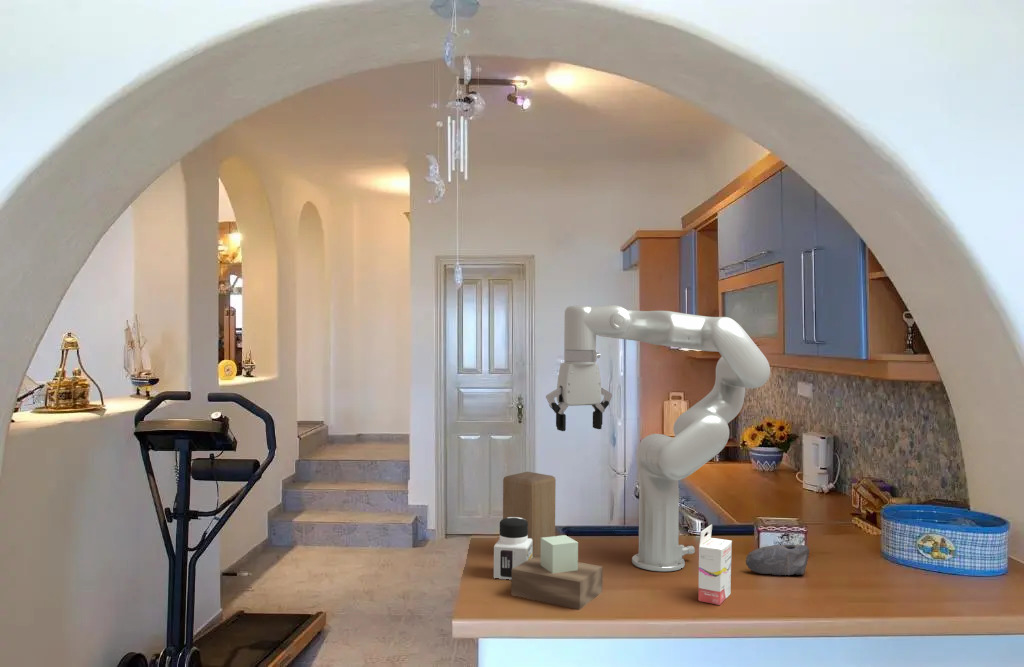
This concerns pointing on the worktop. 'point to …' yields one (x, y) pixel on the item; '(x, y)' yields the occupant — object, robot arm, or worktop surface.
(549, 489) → the block
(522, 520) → the container
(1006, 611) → the worktop surface
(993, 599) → the worktop surface
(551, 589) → the walnut block
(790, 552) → the perforated stone tool
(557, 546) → the sage green cube
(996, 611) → the worktop surface
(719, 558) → the ink cartridge box
